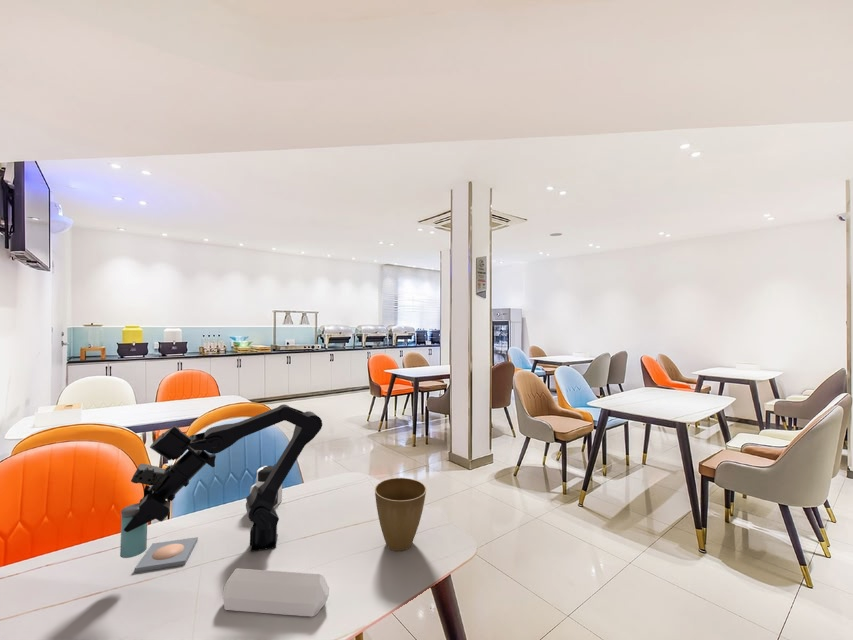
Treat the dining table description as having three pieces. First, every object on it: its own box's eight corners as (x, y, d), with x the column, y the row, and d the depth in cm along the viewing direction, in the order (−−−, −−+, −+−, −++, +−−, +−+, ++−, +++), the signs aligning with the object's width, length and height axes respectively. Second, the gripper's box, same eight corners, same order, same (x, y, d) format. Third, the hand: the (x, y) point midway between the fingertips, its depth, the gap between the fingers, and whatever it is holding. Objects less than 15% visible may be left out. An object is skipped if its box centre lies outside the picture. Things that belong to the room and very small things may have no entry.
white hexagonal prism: (336, 572, 86) (240, 566, 88) (328, 575, 80) (224, 567, 82) (330, 612, 82) (230, 604, 84) (321, 618, 76) (213, 609, 78)
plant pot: (364, 554, 100) (366, 495, 100) (385, 526, 114) (386, 475, 114) (416, 564, 96) (417, 503, 96) (431, 534, 110) (431, 481, 110)
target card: (197, 540, 104) (197, 536, 104) (185, 564, 94) (185, 560, 94) (152, 547, 101) (152, 543, 101) (134, 572, 91) (134, 568, 91)
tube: (150, 543, 91) (152, 501, 91) (141, 556, 86) (142, 511, 86) (126, 547, 90) (127, 504, 90) (115, 560, 85) (116, 514, 85)
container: (282, 501, 129) (283, 464, 130) (270, 511, 122) (272, 472, 122) (261, 499, 130) (262, 463, 130) (249, 510, 122) (250, 471, 123)
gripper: (160, 441, 99) (105, 492, 92) (152, 464, 83) (85, 526, 77) (194, 465, 102) (143, 515, 96) (192, 491, 87) (132, 552, 81)
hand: (127, 525), depth 87 cm, fingers closed on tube, 5 cm apart
